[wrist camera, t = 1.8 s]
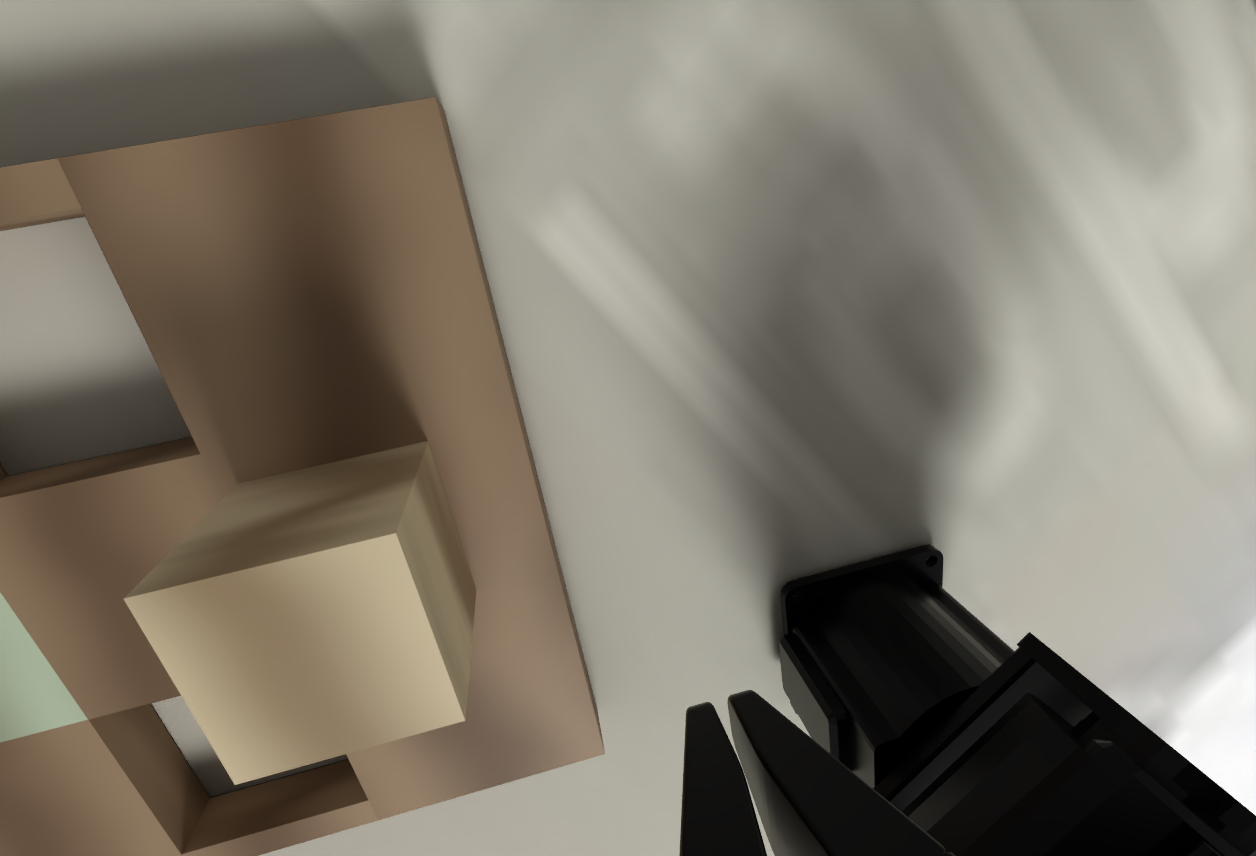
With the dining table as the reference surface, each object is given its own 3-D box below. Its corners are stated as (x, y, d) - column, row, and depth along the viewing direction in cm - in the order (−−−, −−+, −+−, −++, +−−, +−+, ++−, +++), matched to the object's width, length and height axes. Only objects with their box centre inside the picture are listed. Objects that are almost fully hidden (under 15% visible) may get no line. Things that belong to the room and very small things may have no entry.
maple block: (428, 440, 16) (395, 533, 12) (476, 589, 18) (465, 721, 13) (237, 483, 16) (123, 598, 11) (307, 633, 18) (234, 784, 13)
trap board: (444, 110, 15) (435, 97, 14) (597, 710, 23) (604, 753, 21) (-464, 260, 13) (-622, 268, 11) (43, 867, 21) (-2, 931, 19)
